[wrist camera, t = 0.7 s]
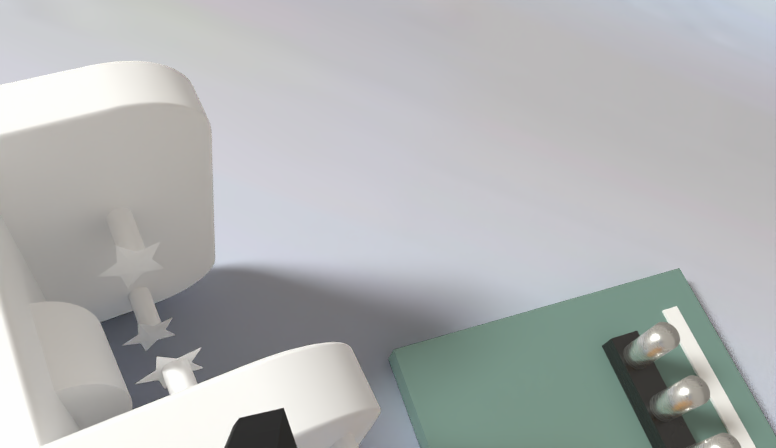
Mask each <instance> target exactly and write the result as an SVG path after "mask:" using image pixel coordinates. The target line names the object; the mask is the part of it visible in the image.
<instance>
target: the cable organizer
mask: <svg viewBox="0 0 776 448" xmlns="http://www.w3.org/2000/svg"><path fill="white" fill-rule="evenodd" d="M214 262H215V235H214V202H213V169H212V136H211V126H210V122H209V120H208V118H207V116H206V113H205V111H204V109H203V107H202V105H201V102H200V100H199V98H198V96H197V94H196V91H195V89H194V87H193V85H192V84H191V82H190V80H189V79H188V78H187V77H186V76H185V75H183V74H182V73H180V72H179V71H177V70H175V69H173V68H170V67H168V66H165V65H161V64H156V63H152V62H142V61H117V62H109V63H101V64H95V65H91V66H86V67H81V68H77V69H72V70H67V71H63V72H58V73H53V74H49V75H44V76H40V77H35V78H30V79H26V80H21V81H16V82H12V83H7V84H2V85H0V448H224V447H225V445H226V442H227V440H228V437H229V435H230V432H231V430H232V428H233V426H234V424H235V423H236V421H237V420H238V419H239V418H241V417H245V416H250V415H254V414H258V413H263V412H267V411H272V410H276V409H280V408H284V410H285V413H286V416H287V419H288V422H289V425H290V428H291V431H292V434H293V436H294V439H295V442H296V445H297V448H359V447H358V446H359V444H360V443H361V441H362V440H363V438H364V437H365V435H366V434H367V433H368V431H369V430H370V428H371V427H372V425H373V424H374V422H375V421H376V419H377V418H378V416H379V415H380V412H381V408H380V406H379V404H378V402H377V400H376V398H375V396H374V394H373V392H372V390H371V388H370V385H369V383H368V381H367V379H366V377H365V375H364V373H363V371H362V369H361V367H360V365H359V362H358V360H357V358H356V356H355V354H354V352H353V350H352V348H351V347H350V346H349V345H348V344H345V343H340V342H327V343H319V344H312V345H307V346H303V347H299V348H295V349H291V350H287V351H284V352H281V353H277V354H274V355H271V356H268V357H265V358H263V359H260V360H257V361H255V362H252V363H249V364H247V365H244V366H242V367H239V368H237V369H234V370H232V371H229V372H227V373H224V374H222V375H219V376H217V377H214V378H211V379H209V380H206V381H204V382H201V383H199V384H197V381H196V378H195V376H194V373H193V371H195V370H198V369H202V368H203V367H201V366H199V365H197V364H194V363H192V361H193V359H194V358H195V356H196V355H197V353H198V352H199V351H200V349H201V348H202V347H201V348H199V349H196V350H194V351H192V352H190V353H188V354H186V355H184V356H182V357H179V358H177V359H176V358H166V357H157V360H156V370H155V371H154V372H152V373H151V374H149V375H148V376H146V377H145V378H143V379H141V380H140V381H138V382H137V383H135V384H138V383H144V382H151V381H157V380H159V381H160V383H161V384H162V386H163V387H164V389H166V388H167V389H168V391H169V394H170V395H169V396H166V397H164V398H161V399H159V400H156V401H154V402H151V403H148V404H146V405H143V406H141V407H138V408H136V409H133V410H132V407H133V403H132V399H131V397H130V394H129V392H128V389H127V387H126V384H125V382H124V379H123V377H122V375H121V372H120V370H119V367H118V365H117V362H116V360H115V357H114V355H113V352H112V350H111V347H110V345H109V343H108V340H107V338H106V335H105V333H104V330H103V328H102V325H101V323H100V322H102V321H105V320H108V319H111V318H114V317H117V316H119V315H122V314H125V313H128V312H131V311H134V314H135V317H136V319H137V322H138V335H137V336H135V337H134V338H132V339H131V340H129V341H128V342H126V343H125V344H123V345H130V344H139V343H141V345H142V346H143V348H144V349H145V351H147V350H148V349H149V348H150V347H151V346H152V345H153V344H154V343H155V342H156V341H157V340H159V339H163V338H167V337H170V336H174V335H175V334H173V333H171V332H169V331H168V330H166V328H167V326H168V325H169V323H170V321H171V320H172V318H173V317H172V318H170V319H168V320H166V321H164V322H161V320H160V318H159V315H158V312H157V309H156V307H155V304H154V303H157V302H159V301H162V300H164V299H167V298H169V297H171V296H174V295H176V294H178V293H180V292H182V291H183V290H185V289H187V288H189V287H190V286H192V285H193V284H195V283H196V282H198V281H199V280H200V279H202V278H203V277H204V276H205V275H206V274H207V273H208V272H209V271H210V270H211V268H212V267H213V265H214Z"/></svg>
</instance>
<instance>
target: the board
mask: <svg viewBox="0 0 776 448" xmlns="http://www.w3.org/2000/svg"><path fill="white" fill-rule="evenodd" d="M659 322H667V323H670V324H671V325H673V326H674V327H675V328H676V329H677V331H678V333H679V335H680V343H679V345H678V346H677V347H676V348H675V349H673V350H671V351H670V352H668V353H667V354H665V355H664V356H662V357H661V358H659V359H657V360H656V361H654V363H655V365H656V367H657V369H658V371H659V373H660V375H661V377H662V379H663V381H664V382H665V384H666V386H667V388H668V387H670V386H671V385H673V384H675V383H677V382H678V381H680V380H682V379H684V378H686V377H687V376H691V375H694V376H698V377H700V378H701V379H703V380H704V381H705V382H706V384H707V385H708V387H709V390H710V398H709V400H708V402H707V403H705V404H703V405H701V406H699V407H697V408H695V409H693V410H691V411H689V412H687V413H685V414H683V415H682V417H683V419H684V421H685V422H686V424H687V426H688V428H689V430H690V432H691V434H692V436H693V438H694V440H695V441H696V443H698V442H700V441H703V440H705V439H707V438H710V437H712V436H715V435H717V434H720V433H728V434H730V435H732V436H734V437H735V438H736V439H737V440H738V442H739V443H740V445H741V448H776V436H775V434H774V432H773V430H772V429H771V427H770V425H769V423H768V422H767V420H766V418H765V416H764V415H763V413H762V411H761V409H760V408H759V406H758V404H757V402H756V401H755V399H754V397H753V395H752V394H751V392H750V390H749V389H748V387H747V385H746V383H745V382H744V380H743V378H742V376H741V375H740V373H739V371H738V369H737V368H736V366H735V364H734V362H733V361H732V359H731V357H730V355H729V354H728V352H727V350H726V348H725V347H724V345H723V343H722V342H721V340H720V338H719V336H718V335H717V333H716V331H715V329H714V328H713V326H712V324H711V322H710V321H709V319H708V317H707V315H706V314H705V312H704V310H703V308H702V307H701V305H700V303H699V301H698V300H697V298H696V296H695V295H694V293H693V291H692V289H691V288H690V286H689V284H688V282H687V281H686V279H685V277H684V275H683V274H682V272H681V270H680V268H678V269H675V270H671V271H668V272H664V273H661V274H657V275H654V276H650V277H647V278H643V279H640V280H636V281H633V282H629V283H626V284H622V285H619V286H615V287H612V288H608V289H605V290H601V291H598V292H594V293H591V294H587V295H584V296H580V297H577V298H573V299H570V300H566V301H563V302H559V303H555V304H552V305H548V306H545V307H541V308H538V309H534V310H531V311H527V312H524V313H520V314H517V315H513V316H510V317H506V318H503V319H499V320H496V321H492V322H489V323H485V324H482V325H478V326H475V327H471V328H468V329H464V330H461V331H457V332H454V333H450V334H447V335H443V336H440V337H436V338H433V339H429V340H426V341H422V342H418V343H415V344H411V345H408V346H404V347H401V348H397V349H394V350H393V352H392V353H391V355H390V357H389V358H388V359H389V362H390V365H391V368H392V370H393V373H394V376H395V379H396V381H397V384H398V387H399V390H400V393H401V395H402V398H403V401H404V404H405V406H406V409H407V412H408V415H409V417H410V420H411V423H412V426H413V429H414V431H415V434H416V437H417V440H418V442H419V445H420V448H652V446H651V444H650V442H649V440H648V438H647V436H646V434H645V432H644V430H643V428H642V426H641V424H640V422H639V420H638V418H637V416H636V414H635V412H634V410H633V408H632V406H631V404H630V402H629V400H628V398H627V396H626V394H625V392H624V390H623V388H622V386H621V384H620V382H619V380H618V378H617V376H616V374H615V372H614V370H613V368H612V366H611V364H610V362H609V360H608V358H607V356H606V354H605V352H604V350H603V348H602V345H604V344H605V343H606V342H607V341H609V340H610V339H611V338H615V337H618V336H621V335H624V334H627V333H631V332H634V331H638V333H639V335H642V334H643V333H645V332H646V331H647V330H649V329H650V328H651V327H653V326H654V325H656V324H657V323H659Z"/></svg>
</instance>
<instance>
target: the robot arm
mask: <svg viewBox="0 0 776 448" xmlns="http://www.w3.org/2000/svg"><path fill="white" fill-rule="evenodd" d="M224 448H297V445H296V442H295V439H294V436H293V434H292V431H291V428H290V425H289V422H288V419H287V416H286V413H285V410H284V408H280V409H276V410H272V411H267V412H263V413H258V414H254V415H250V416H245V417H241V418H239V419H238V420H237V421H236V423H235V424H234V426H233V428H232V430H231V432H230V435H229V437H228V440H227V442H226V445H225V447H224Z"/></svg>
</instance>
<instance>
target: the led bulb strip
mask: <svg viewBox="0 0 776 448" xmlns="http://www.w3.org/2000/svg"><path fill="white" fill-rule="evenodd" d="M679 343H680V335H679V333H678V331H677V329H676V328H675V327H674V326H673V325H671V324H670V323H667V322H659V323H657V324H656V325H654V326H653V327H651V328H650V329H649V330H647V331H646V332H645V333H643V334H642V335H639V333H638V331H634V332H631V333H627V334H624V335H621V336H618V337H615V338H611V339H610V340H609V341H607V342H606V343H605V344H604V345H602V348H603V350H604V352H605V354H606V356H607V358H608V360H609V362H610V364H611V366H612V368H613V370H614V372H615V374H616V376H617V378H618V380H619V382H620V384H621V386H622V388H623V390H624V392H625V394H626V396H627V398H628V400H629V402H630V404H631V406H632V408H633V410H634V412H635V414H636V416H637V418H638V420H639V422H640V424H641V426H642V428H643V430H644V432H645V434H646V436H647V438H648V440H649V442H650V444H651V446H652V448H741V445H740V443H739V442H738V440H737V439H736V438H735V437H734V436H732V435H730V434H728V433H720V434H717V435H715V436H712V437H710V438H707V439H705V440H703V441H700V442H698V443H696V441H695V440H694V438H693V436H692V434H691V432H690V430H689V428H688V426H687V424H686V422H685V421H684V419H683V417H682V415H683V414H685V413H687V412H689V411H691V410H693V409H695V408H697V407H699V406H701V405H703V404H705V403H707V402H708V400H709V398H710V390H709V387H708V385H707V384H706V382H705V381H704V380H703V379H701V378H700V377H698V376H694V375H691V376H687V377H686V378H684V379H682V380H680V381H678V382H677V383H675V384H673V385H671V386H670V387H668V388H667V386H666V384H665V382H664V381H663V379H662V377H661V375H660V373H659V371H658V369H657V367H656V365H655V363H654V361H656V360H657V359H659V358H661V357H662V356H664V355H665V354H667V353H668V352H670V351H671V350H673V349H675V348H676V347H677V346H678V345H679Z"/></svg>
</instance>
